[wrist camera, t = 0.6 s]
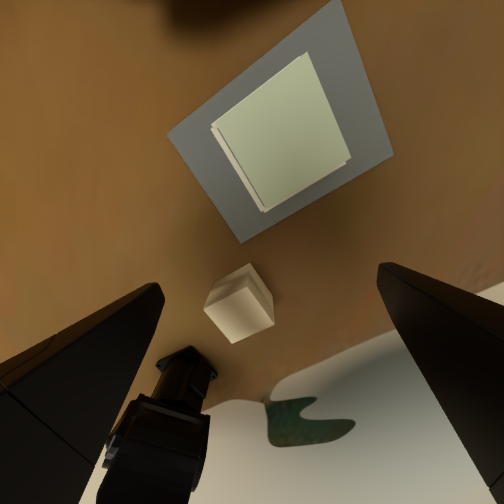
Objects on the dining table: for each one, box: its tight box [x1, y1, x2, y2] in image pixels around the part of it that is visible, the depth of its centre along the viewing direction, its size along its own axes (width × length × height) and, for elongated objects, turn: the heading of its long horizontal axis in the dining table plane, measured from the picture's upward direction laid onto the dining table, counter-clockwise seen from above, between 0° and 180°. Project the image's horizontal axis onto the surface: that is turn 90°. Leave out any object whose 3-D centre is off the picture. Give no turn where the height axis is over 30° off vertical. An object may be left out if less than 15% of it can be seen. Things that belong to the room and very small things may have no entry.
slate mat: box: [166, 0, 394, 244], centre depth 19 cm, size 16×12×1 cm
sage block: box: [215, 52, 351, 209], centre depth 17 cm, size 7×7×4 cm
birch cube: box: [203, 263, 275, 344], centre depth 23 cm, size 5×5×5 cm
